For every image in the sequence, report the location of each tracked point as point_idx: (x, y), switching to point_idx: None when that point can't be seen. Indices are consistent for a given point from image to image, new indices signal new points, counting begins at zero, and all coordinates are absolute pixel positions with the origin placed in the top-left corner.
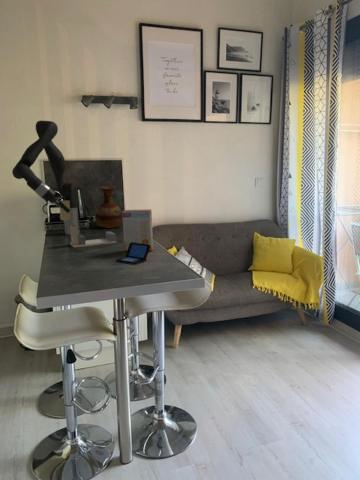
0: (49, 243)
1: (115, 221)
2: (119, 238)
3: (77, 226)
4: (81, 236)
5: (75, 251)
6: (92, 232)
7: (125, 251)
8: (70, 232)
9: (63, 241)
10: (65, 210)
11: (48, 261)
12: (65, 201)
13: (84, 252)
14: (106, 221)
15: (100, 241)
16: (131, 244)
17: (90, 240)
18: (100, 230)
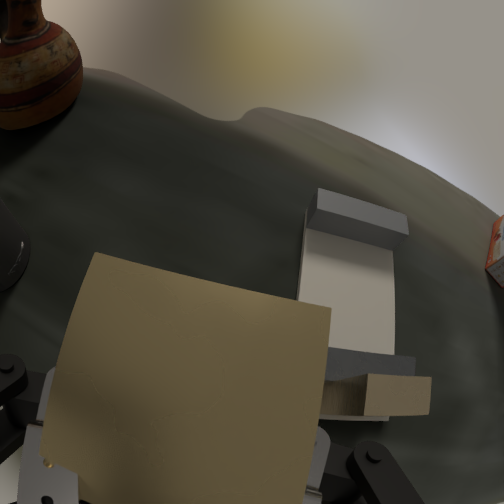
0: None
1: (78, 79)
2: (303, 179)
3: (430, 378)
4: (389, 367)
5: (448, 424)
6: (59, 182)
7: (502, 286)
8: (12, 275)
9: None
10: None
11: (493, 500)
12: (314, 413)
13: (473, 396)
14: (54, 97)
15: (367, 281)
16: None
17: None
18: (56, 145)
